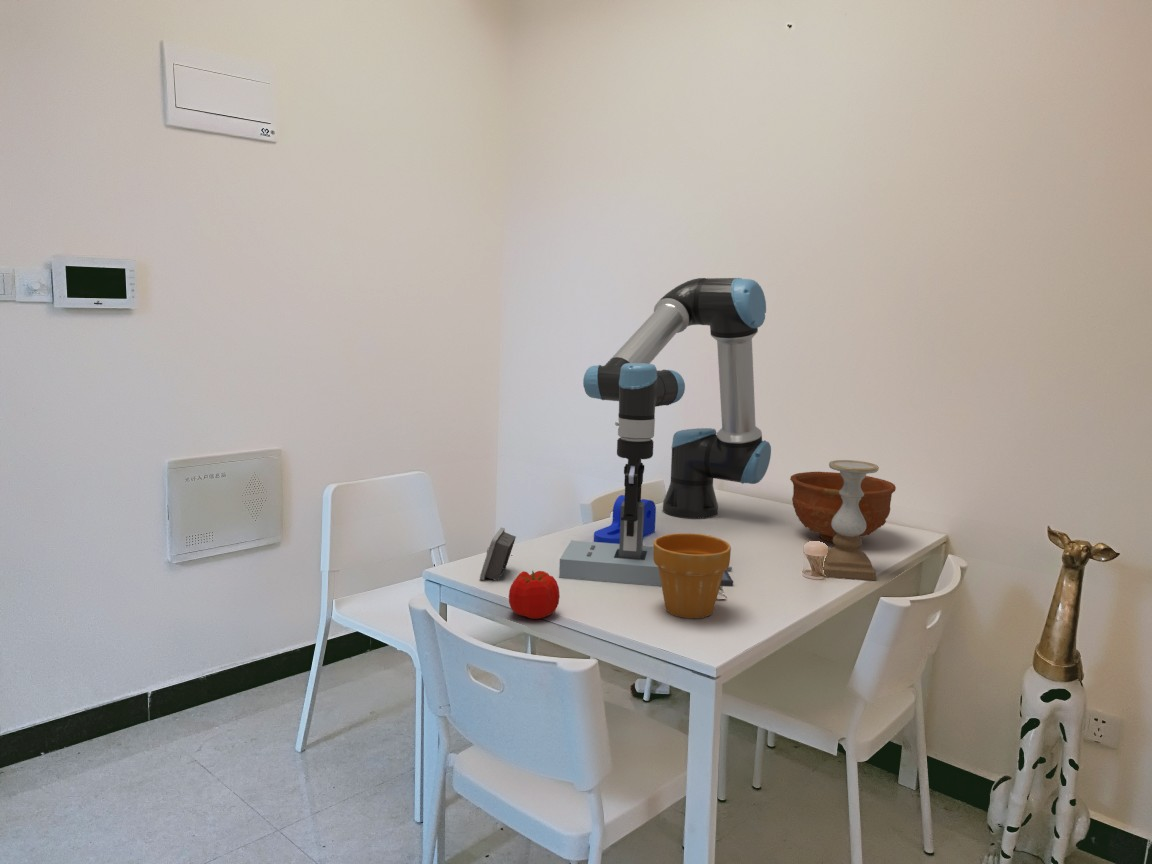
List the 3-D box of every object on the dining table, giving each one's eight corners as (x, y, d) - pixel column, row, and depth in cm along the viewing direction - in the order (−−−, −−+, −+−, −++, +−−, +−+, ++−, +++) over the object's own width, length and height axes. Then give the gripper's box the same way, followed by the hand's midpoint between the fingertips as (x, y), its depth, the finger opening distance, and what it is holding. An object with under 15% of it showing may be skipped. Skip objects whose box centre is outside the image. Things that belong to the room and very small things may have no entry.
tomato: (544, 602, 157) (545, 564, 156) (566, 619, 150) (567, 579, 149) (499, 610, 153) (499, 571, 152) (519, 627, 145) (520, 586, 144)
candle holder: (822, 577, 177) (831, 467, 173) (815, 561, 188) (823, 458, 184) (876, 581, 176) (886, 470, 172) (865, 565, 186) (874, 460, 183)
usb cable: (663, 562, 184) (663, 558, 184) (664, 561, 185) (664, 557, 185) (731, 571, 179) (731, 567, 179) (731, 570, 180) (732, 566, 180)
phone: (660, 573, 176) (661, 568, 176) (726, 574, 177) (726, 569, 177) (664, 584, 170) (664, 579, 169) (732, 586, 170) (733, 580, 170)
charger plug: (621, 555, 178) (623, 499, 177) (642, 556, 178) (644, 501, 176) (618, 561, 174) (620, 504, 172) (640, 563, 173) (642, 506, 171)
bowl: (782, 546, 199) (786, 485, 197) (790, 521, 222) (794, 466, 220) (892, 559, 191) (897, 496, 189) (888, 532, 215) (893, 475, 212)
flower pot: (635, 608, 156) (638, 541, 154) (682, 591, 166) (685, 528, 164) (695, 631, 146) (699, 560, 144) (741, 611, 156) (746, 544, 154)
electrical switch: (488, 566, 178) (493, 525, 176) (512, 570, 177) (517, 529, 175) (478, 581, 168) (483, 537, 167) (503, 585, 168) (508, 541, 166)
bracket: (626, 527, 212) (628, 492, 211) (654, 533, 208) (656, 498, 206) (586, 542, 198) (588, 505, 197) (616, 549, 193) (617, 511, 192)
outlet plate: (570, 557, 185) (571, 539, 185) (669, 565, 182) (670, 546, 181) (559, 577, 172) (559, 558, 171) (665, 586, 168) (666, 566, 168)
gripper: (622, 430, 181) (618, 534, 185) (612, 444, 164) (608, 557, 167) (656, 432, 180) (651, 536, 183) (650, 446, 163) (645, 560, 166)
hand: (631, 546), depth 175 cm, fingers closed on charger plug, 4 cm apart
